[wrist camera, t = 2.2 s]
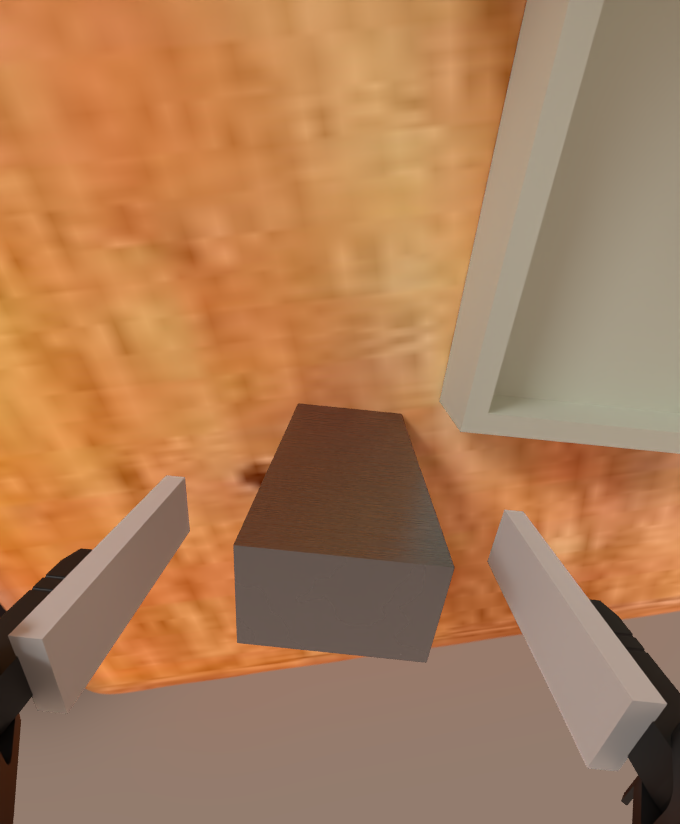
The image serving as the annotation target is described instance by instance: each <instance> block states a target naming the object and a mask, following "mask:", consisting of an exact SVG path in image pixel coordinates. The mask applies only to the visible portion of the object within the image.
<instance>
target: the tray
mask: <svg viewBox="0 0 680 824" xmlns="http://www.w3.org/2000/svg"><path fill="white" fill-rule="evenodd" d="M439 402H440V403H441V404H442V406H443V407H444V409H445V410H446V412H447V413H448V415H449V416H450V417H451V419H452V420H453V422H454V423H455V425H456V426H457V428H458V429H459V430H460V432H469V433H479V434H489V435H499V436H509V437H518V438H528V439H538V440H548V441H558V442H568V443H578V444H588V445H598V446H608V447H618V448H628V449H638V450H648V451H657V452H667V453H677V454H680V0H527V2H526V7H525V11H524V16H523V20H522V25H521V30H520V34H519V39H518V43H517V48H516V53H515V57H514V62H513V66H512V71H511V75H510V80H509V85H508V89H507V94H506V98H505V103H504V108H503V112H502V117H501V121H500V126H499V130H498V135H497V140H496V144H495V149H494V153H493V158H492V163H491V167H490V172H489V176H488V181H487V186H486V190H485V195H484V199H483V204H482V208H481V213H480V218H479V222H478V227H477V231H476V236H475V241H474V245H473V250H472V254H471V259H470V263H469V268H468V273H467V277H466V282H465V286H464V291H463V296H462V300H461V305H460V309H459V314H458V318H457V323H456V328H455V332H454V337H453V341H452V346H451V351H450V355H449V360H448V364H447V369H446V373H445V378H444V383H443V387H442V392H441V396H440V401H439Z"/></svg>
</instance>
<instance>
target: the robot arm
mask: <svg viewBox="0 0 680 824" xmlns="http://www.w3.org/2000/svg"><path fill="white" fill-rule="evenodd" d="M189 531H190V528H189V517H188V506H187V495H186V483H185V477H177V476H167V475H166V476H165V477H164V478H163V479H162V480H161V481H160V482H159V483H158V484H157V485H156V486H155V487H154V488H153V489H152V490H151V491H150V492H149V493H148V494H147V495H146V497H145V498H144V499H143V500H142V501H141V502H140V503H139V504H138V505H137V506H136V507H135V508H134V509H133V510H132V511H131V512H130V513H129V514H128V515H127V516H126V517H125V518H124V519H123V520H122V521H121V522H120V523H119V524H118V525H117V526H116V527H115V528H114V529H113V530H112V531H111V532H110V533H109V534H108V535H107V536H106V537H105V538H104V539H103V540H102V541H101V542H100V543H99V544H98V545H97V546H96V547H95V548H94V549H93V550H91V549H79V550H78V551H76V552H74V553H73V554H71V555H69V556H68V557H66V558H64V559H63V560H61V561H60V562H59V563H58V564H57V565H56V566H55V567H54V568H53V569H52V570H51V571H49V572H48V573H47V574H46V577H45V578H42V579H41V580H40V581H39V582H38V583H37V584H36V585H35V586H33V589H32V590H29V591H28V592H27V593H26V594H25V595H24V596H23V597H22V598H21V599H20V600H19V601H17V602H16V603H15V604H14V605H13V606H12V607H11V608H10V609H9V610H8V611H7V612H6V613H5V614H4V615H3V616H2V617H0V824H13V817H14V804H15V792H16V779H17V766H18V752H19V740H20V727H21V719H20V715H19V712H20V711H21V710H22V708H23V707H24V706H25V704H26V703H27V702H28V701H29V699H30V698H31V697H32V698H33V701H34V703H35V706H36V709H37V710H38V711H46V712H54V713H65V714H68V712H69V711H70V709H71V708H72V706H73V705H74V703H75V702H76V700H77V699H78V697H79V696H80V694H81V693H82V691H83V690H84V688H85V687H86V685H87V684H88V682H89V681H90V679H91V678H92V676H93V675H94V673H95V672H96V670H97V669H98V667H99V666H100V665H101V663H102V662H103V660H104V659H105V657H106V656H107V654H108V653H109V651H110V650H111V648H112V647H113V645H114V644H115V642H116V641H117V639H118V638H119V636H120V635H121V633H122V632H123V630H124V629H125V627H126V626H127V624H128V623H129V621H130V620H131V618H132V617H133V615H134V614H135V612H136V611H137V609H138V608H139V606H140V605H141V603H142V602H143V600H144V599H145V597H146V596H147V594H148V593H149V591H150V590H151V588H152V587H153V585H154V584H155V582H156V581H157V579H158V578H159V576H160V575H161V573H162V572H163V570H164V569H165V567H166V566H167V564H168V563H169V561H170V560H171V558H172V557H173V555H174V554H175V552H176V551H177V549H178V548H179V546H180V545H181V543H182V542H183V540H184V539H185V537H186V536H187V534H188V533H189ZM487 562H488V564H489V566H490V568H491V570H492V572H493V574H494V576H495V578H496V580H497V582H498V584H499V586H500V588H501V590H502V593H503V595H504V597H505V599H506V601H507V603H508V605H509V607H510V609H511V611H512V613H513V615H514V617H515V619H516V622H517V624H518V626H519V628H520V630H521V632H522V634H523V636H524V638H525V640H526V642H527V644H528V646H529V648H530V650H531V652H532V655H533V657H534V659H535V660H536V663H537V665H538V667H539V669H540V671H541V673H542V675H543V677H544V679H545V681H546V683H547V685H548V688H549V690H550V692H551V694H552V696H553V698H554V700H555V702H556V704H557V706H558V708H559V710H560V712H561V715H562V717H563V718H564V721H565V723H566V725H567V727H568V729H569V731H570V733H571V735H572V737H573V739H574V741H575V743H576V746H577V748H578V749H579V752H580V754H581V756H582V758H583V760H584V762H585V764H586V766H587V768H591V769H601V770H610V771H618V770H619V769H620V768H621V767H622V765H623V764H624V762H625V761H626V760H627V758H629V760H630V762H631V763H632V765H633V767H634V768H635V770H636V772H637V773H638V776H637V777H636V779H635V780H634V781H633V783H632V784H631V785H630V786H629V788H628V789H627V790H626V792H625V793H624V795H623V798H622V800H621V801H622V802H623V803H624V804H625V805H628V804H629V802H630V801H631V800H632V799H633V819H632V824H680V693H679V692H678V690H677V689H676V688H675V687H674V685H673V684H672V683H671V682H670V680H669V679H668V678H667V677H666V675H665V674H664V673H663V672H662V670H661V669H660V668H659V667H658V665H657V664H656V663H655V662H654V660H653V659H652V658H651V657H650V655H649V654H648V653H646V652H645V651H644V648H643V647H642V645H641V644H640V643H639V642H638V640H637V639H636V638H634V637H633V636H632V633H631V631H630V630H629V629H628V628H627V627H626V625H625V624H624V623H623V621H622V620H621V619H620V618H619V616H617V615H616V614H615V613H614V612H613V611H612V610H610V609H609V608H608V607H607V606H606V605H604V604H603V603H602V602H601V601H598V600H589V599H588V597H587V596H586V595H585V593H584V592H583V591H582V589H581V588H580V587H579V585H578V584H577V583H576V581H575V580H574V579H573V577H572V576H571V575H570V573H569V572H568V571H567V569H566V568H565V567H564V565H563V564H562V563H561V561H560V560H559V559H558V557H557V556H556V555H555V553H554V552H553V551H552V549H551V548H550V547H549V545H548V544H547V543H546V541H545V540H544V539H543V537H542V536H541V535H540V533H539V532H538V531H537V529H536V528H535V527H534V525H533V524H532V523H531V521H530V520H529V519H528V517H527V516H526V515H525V513H524V512H522V511H512V510H504V513H503V516H502V519H501V522H500V525H499V528H498V531H497V534H496V537H495V540H494V543H493V546H492V549H491V552H490V555H489V558H488V561H487Z"/></svg>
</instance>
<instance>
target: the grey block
mask: <svg viewBox="0 0 680 824" xmlns="http://www.w3.org/2000/svg"><path fill="white" fill-rule="evenodd" d="M453 571H454V565H453V562H452V559H451V556H450V553H449V550H448V547H447V545H446V542H445V539H444V536H443V533H442V530H441V527H440V524H439V521H438V519H437V516H436V513H435V510H434V507H433V504H432V501H431V498H430V495H429V493H428V490H427V487H426V484H425V481H424V478H423V475H422V472H421V469H420V467H419V464H418V461H417V458H416V455H415V452H414V449H413V446H412V443H411V441H410V438H409V435H408V432H407V429H406V426H405V423H404V420H403V417H402V415H401V414H397V413H387V412H377V411H367V410H357V409H347V408H337V407H327V406H317V405H307V404H298V405H297V407H296V409H295V412H294V414H293V416H292V418H291V420H290V423H289V425H288V427H287V429H286V431H285V434H284V436H283V438H282V440H281V442H280V444H279V447H278V449H277V451H276V453H275V455H274V458H273V460H272V462H271V464H270V466H269V469H268V471H267V473H266V475H265V477H264V479H263V482H262V484H261V486H260V488H259V490H258V493H257V495H256V497H255V499H254V501H253V504H252V506H251V508H250V510H249V512H248V514H247V517H246V519H245V521H244V523H243V525H242V528H241V530H240V532H239V534H238V536H237V539H236V541H235V543H234V572H235V598H236V624H237V643H243V644H253V645H262V646H272V647H281V648H291V649H301V650H310V651H320V652H329V653H339V654H349V655H358V656H368V657H377V658H387V659H397V660H407V661H416V662H427V659H428V656H429V652H430V649H431V646H432V642H433V639H434V635H435V632H436V629H437V625H438V622H439V619H440V615H441V612H442V608H443V605H444V602H445V598H446V595H447V592H448V588H449V585H450V581H451V578H452V575H453Z"/></svg>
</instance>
